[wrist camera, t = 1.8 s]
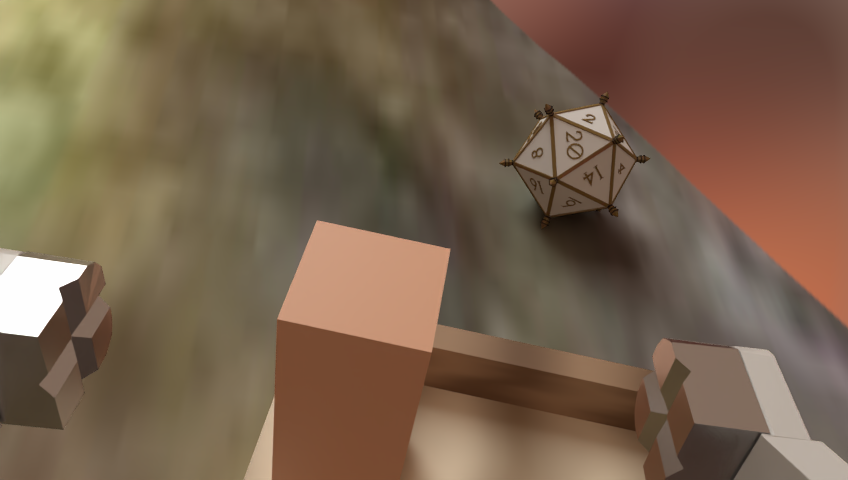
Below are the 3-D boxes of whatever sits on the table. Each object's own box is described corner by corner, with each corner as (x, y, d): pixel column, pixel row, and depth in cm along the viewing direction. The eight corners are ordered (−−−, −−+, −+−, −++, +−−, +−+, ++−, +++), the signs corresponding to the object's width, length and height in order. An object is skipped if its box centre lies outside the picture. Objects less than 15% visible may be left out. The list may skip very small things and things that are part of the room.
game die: (568, 259, 54) (666, 229, 45) (468, 214, 51) (552, 173, 42) (590, 151, 57) (687, 104, 48) (497, 103, 54) (582, 43, 45)
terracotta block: (270, 507, 31) (277, 319, 23) (302, 411, 35) (317, 220, 27) (386, 532, 31) (431, 352, 23) (405, 433, 35) (450, 249, 27)
